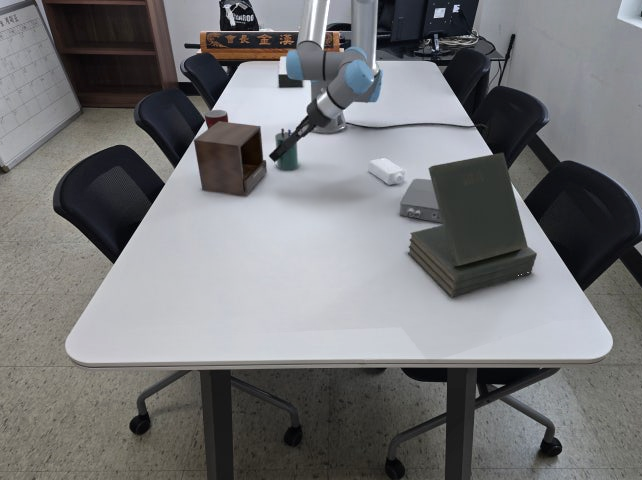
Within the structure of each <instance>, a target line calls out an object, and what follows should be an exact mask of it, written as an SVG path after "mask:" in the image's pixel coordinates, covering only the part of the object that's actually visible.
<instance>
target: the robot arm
mask: <svg viewBox="0 0 642 480" xmlns="http://www.w3.org/2000/svg"><path fill="white" fill-rule="evenodd" d="M302 2H303V3H302V10H301V15H300V23H299V28H298V35H297V41H296V48H295V49H292V50H291V49H289V50H288V51H287V53H286V71H287V75H288V77H289V78H290V79H295V80H302V82H303V81H309V82H310V103H309V104H307V106H306V114H307V115H306V116H305V117H304V118H303V119H302V120H301V121H300V123H299V124H298V125H297V126H296V127H295V129H294V131H293V132H291V133H292V134H291V135H289V137H288V138H286V139H285V141H283V140H281V141H280V143H281V144H280V145H279V146H278V147H277V148H276V147H275V149H273V150H272V152H271V153H269V155H268V158H270V159H271V161H272V162H273V163H277V160H278V159H279V158H280V157H281V156H282V155H283V154H285V153H286V152H287V151H288V150H289V149H290V148H292V149H293V148H294V146H293V145H294V144H295V143H296V142H297V143H298V142H299V141H300V140H301V139H302V138H305V137H306V136H307V135H308V134H310V133H312V132H313V133H316V134H324V135H325V134H328V135H329V134H337V133H340V132H343V131H344V130H345V129H346V127H347V125H349V126H352V127H356V128H363V129H369V130H371V129H372V130H381V129H382V130H383V129H390V128H400V127H408V126H409V127H410V126H411V127H412V126H445V127H456V128H462V129H472V128H477V127H482V128H484V130H485V129H488V127H487V126H486V125H484V124H481V123H479V124H474V125H460V124H453V123H443V122H442V123H441V122H416V123H415V122H414V123H413V122H412V123H401V124H393V125H384V126H370V125H369V126H368V125H362V124H356V123H352V122H347V121H346V118H345V115H344V111H346V109H348V107H349V106H351V105H352V104H353V103H365V104H368V103H376V102H378V100H380V99H379V98H380V94H381V89H382V83H383V76H384V71H383V69H381V68H380V64H379V63H378V62H377V61H376V58H377V57H376V56H377V34H378V32H377V31H378V30H377V29H378V9H379V8H378V7H379V0H350V18H351V19H350V26H351V27H350V29H351V30H350V31H351V32H350V36H351V37H350V38H351V39H350V40H351V41H350V47H348V48H346V49H344V50H343V51H324V50H325V42H326V41H325V40H326V35H327V34H326V33H327V28H328V27H327V26H328V20H329V19H328V18H329V10H330V3H331V0H303V1H302Z"/></svg>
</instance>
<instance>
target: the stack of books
mask: <svg viewBox="0 0 642 480" xmlns="http://www.w3.org/2000/svg"><path fill="white" fill-rule="evenodd" d="M427 169H428V172H429V177H430V180H432V184H433V188H434V192H435V196H436V200H437V204H438V208H439V211H440V215H441V219H442V223H441V224H442V225H437V226H433V227H430V228H425V229H420V230H416V231H412V232H410V235H411V236H410V238H409V239H408V240H409V242H410V245H408V248H409V252H407V254H408V255H409V257H411V259H413V261H414V262H415V263H416V264H417V265H418V266H419V267H420V268H421V269H422V270H423V271H424V272H425V273H426V274H427V275H428V276H429V277H430V278H431V279H432V280H433V281H434V282H435V283H436V284H437V285H438V286H439V288H441V290H443V292H444V293H445V294H446V295H447V296H448V297H449V298H450V299H452V298H455V297H458V296H461V295H465V294H468V293H469V294H470V293H472V292H475V291H479V290H482V289H485V288H489V287H492V286H495V285H499V284H503V283H506V282H509V281H513V280H516V279H519V278H523V277H526V276H530V275H531V274H532V272H533V268H534V265H535V263H536V262H535V261H536V259H537V256H538V252H536V251H534V250H533V249H532V248H530V247H529V246H528V241H527V238H526V234H525V230H524V227H523V222H522V218H521V215H520V212H519V211H520V210H519V207H518V204H517V203H518V202H517V199H516V196H515V192H514V187H513V184H512V181H511V176H510V173H509V168H508V165H507V161H506V157H505V154H504V152H498V153H493V154H489V155H483V156H478V157H473V158H472V157H471V158H467V159H461V160H456V161H450V162H445V163H440V164H433V165H431V166H430V167H428V168H427ZM531 271H532V272H531ZM527 272H529V273H527ZM521 274H522V275H521ZM518 275H519V276H518Z"/></svg>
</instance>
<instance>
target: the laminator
mask: <svg viewBox="0 0 642 480" xmlns="http://www.w3.org/2000/svg"><path fill="white" fill-rule="evenodd" d="M286 56H287V55H286ZM286 56H285V55H283V56H280V57H279V65H277V67H278V74H277V75H278V76H277V77H278V87H279V88H291V87H292V88H293V87H295V88H296V87H297V88H299V87H300V88H301V87H302V88H303V85H304V84H303V81H302V80H295V79H290V78H289V77H288V75H287V71H286Z"/></svg>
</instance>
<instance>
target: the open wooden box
mask: <svg viewBox="0 0 642 480" xmlns="http://www.w3.org/2000/svg"><path fill="white" fill-rule="evenodd" d="M261 127H262V126H261V125H254V124H245V123H236V122H229V121H228V122H221V121H219V122H217V123H216V124H215V125H213V126H212V127H211V128H209V129H208V128H207V129H206V130H205V131H204V132H202V133H200V134H199V135H198V136H197V137H196V138H194V139H193V144H194V149H195V156H196V162H197V167H198V173H199V178H200V185H201V190H202V191H206V192H207V191H208V192H214V193H221V194H228V195H234V196H240V197H245V196H246V195H247V194H248V193H245V186H244V175H243V166H242V164H247V165H254V166H258V165H259V164H260V163H261V162H262V161H263V160H264V151H263V139H262V129H261Z"/></svg>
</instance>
